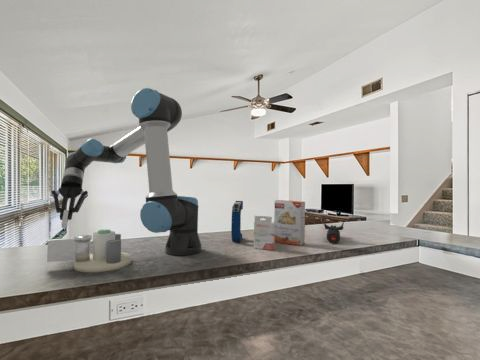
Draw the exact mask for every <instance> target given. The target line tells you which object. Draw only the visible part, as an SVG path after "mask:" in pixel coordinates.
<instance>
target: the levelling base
mask: <svg viewBox="0 0 480 360" xmlns="http://www.w3.org/2000/svg"><path fill="white" fill-rule="evenodd" d="M121 237H122V234H120V233H116V231H114V230H111V229H99V230H97V231H95V232H93V233H92V253H90V260H88V261H83V262H76V261H75V260H73V269H74V271H77V272H81V273H102V272H111V271H115V270H118V269H122V268H125V267H127V266H129V265H130V264H131V262H132V254H130V253H128V252H123V251H122V240H121V239H122V238H121Z"/></svg>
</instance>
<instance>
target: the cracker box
mask: <svg viewBox="0 0 480 360" xmlns="http://www.w3.org/2000/svg"><path fill="white" fill-rule="evenodd" d="M273 212H274V213H273V214H274V215H273V217H274V218H273V219H274V220H273V222H274V243H278V242H279V243H280V244H285V245H292V246H297V245H298V247H302V246H303V245H305V236H306V235H305V233H306V232H305V227H306V223H305V221H306V202H305V201H300V200H299V201H298V200H283V199H278V200H277V199H276V200H274V211H273Z"/></svg>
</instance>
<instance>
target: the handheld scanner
mask: <svg viewBox="0 0 480 360" xmlns="http://www.w3.org/2000/svg"><path fill="white" fill-rule="evenodd" d="M243 204H244V201H243V200H235V202H234V203H233V205H232V209H231V225H230V226H231V229H230V230H231V233H230V234H231V241H232V242H234V243H235V242H241V241H242V239H243V233H242V231H241V229H242V228H241V217H242V216H241V215H242V210H243V207H244V205H243Z"/></svg>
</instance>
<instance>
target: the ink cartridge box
mask: <svg viewBox="0 0 480 360" xmlns="http://www.w3.org/2000/svg"><path fill="white" fill-rule="evenodd" d="M264 219H265V220H264ZM272 219H273V218H272V216H269V215H268V216H266V215H254V221H253V248H254V249H256V248H257V249H259V250H266V251H267V250H268V251H273V250H274V249H275V242H274V221H273V220H272Z"/></svg>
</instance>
